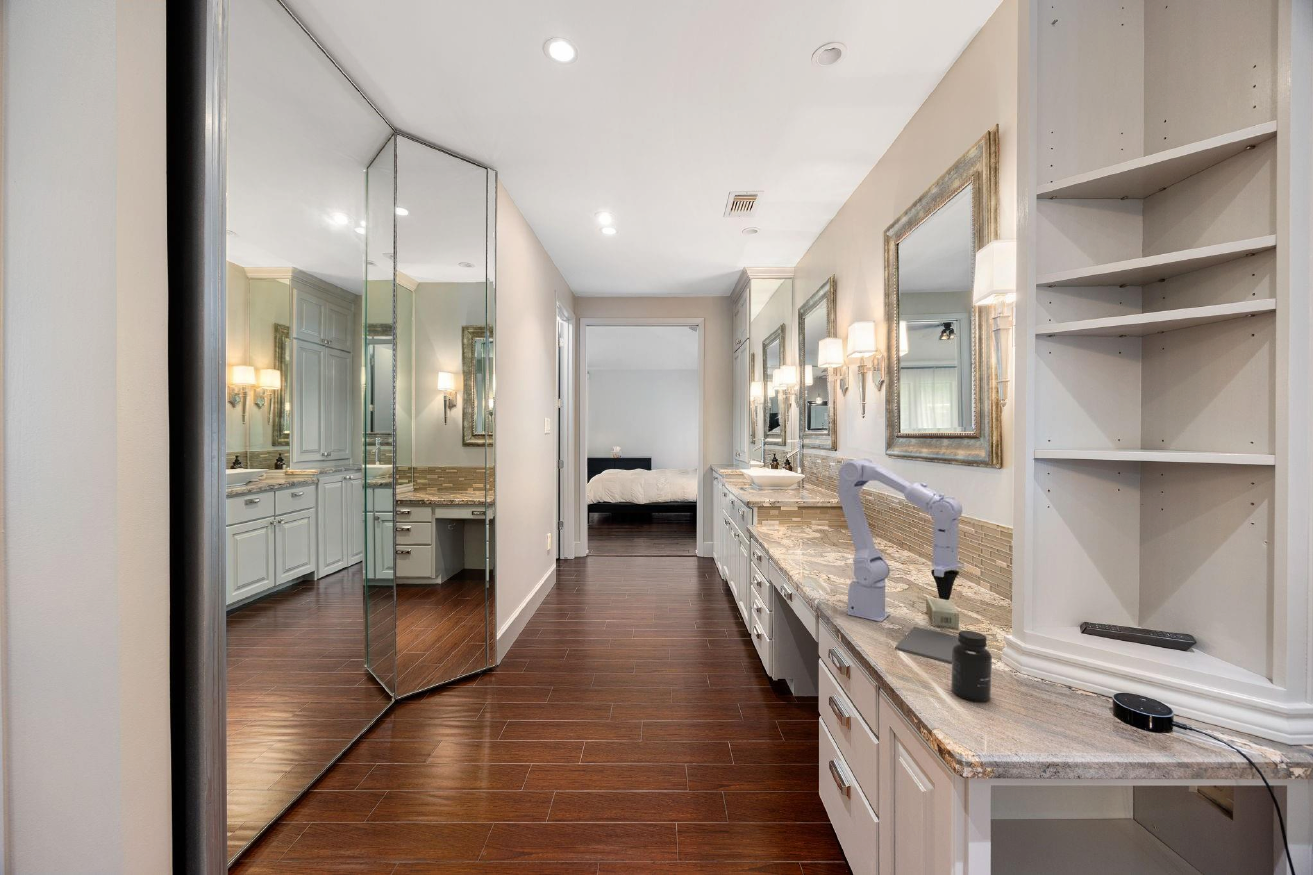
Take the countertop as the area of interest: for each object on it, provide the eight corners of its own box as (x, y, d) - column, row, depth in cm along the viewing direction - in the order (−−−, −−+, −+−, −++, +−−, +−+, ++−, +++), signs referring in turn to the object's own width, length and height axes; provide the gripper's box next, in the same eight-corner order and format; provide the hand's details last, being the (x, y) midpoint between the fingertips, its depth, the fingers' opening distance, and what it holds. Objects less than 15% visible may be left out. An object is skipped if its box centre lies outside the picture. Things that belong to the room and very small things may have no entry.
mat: (894, 649, 129) (895, 646, 129) (914, 628, 142) (914, 626, 142) (961, 666, 120) (961, 663, 120) (975, 642, 134) (975, 640, 133)
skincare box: (959, 629, 142) (951, 614, 153) (959, 613, 142) (951, 599, 153) (931, 626, 144) (925, 611, 156) (932, 610, 144) (926, 596, 156)
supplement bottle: (990, 706, 103) (992, 644, 103) (950, 696, 107) (951, 636, 106) (991, 691, 109) (992, 632, 108) (952, 682, 112) (953, 625, 112)
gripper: (957, 553, 129) (956, 609, 130) (968, 543, 141) (967, 595, 141) (925, 548, 134) (924, 603, 134) (938, 539, 145) (937, 589, 145)
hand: (944, 598), depth 138 cm, fingers closed
